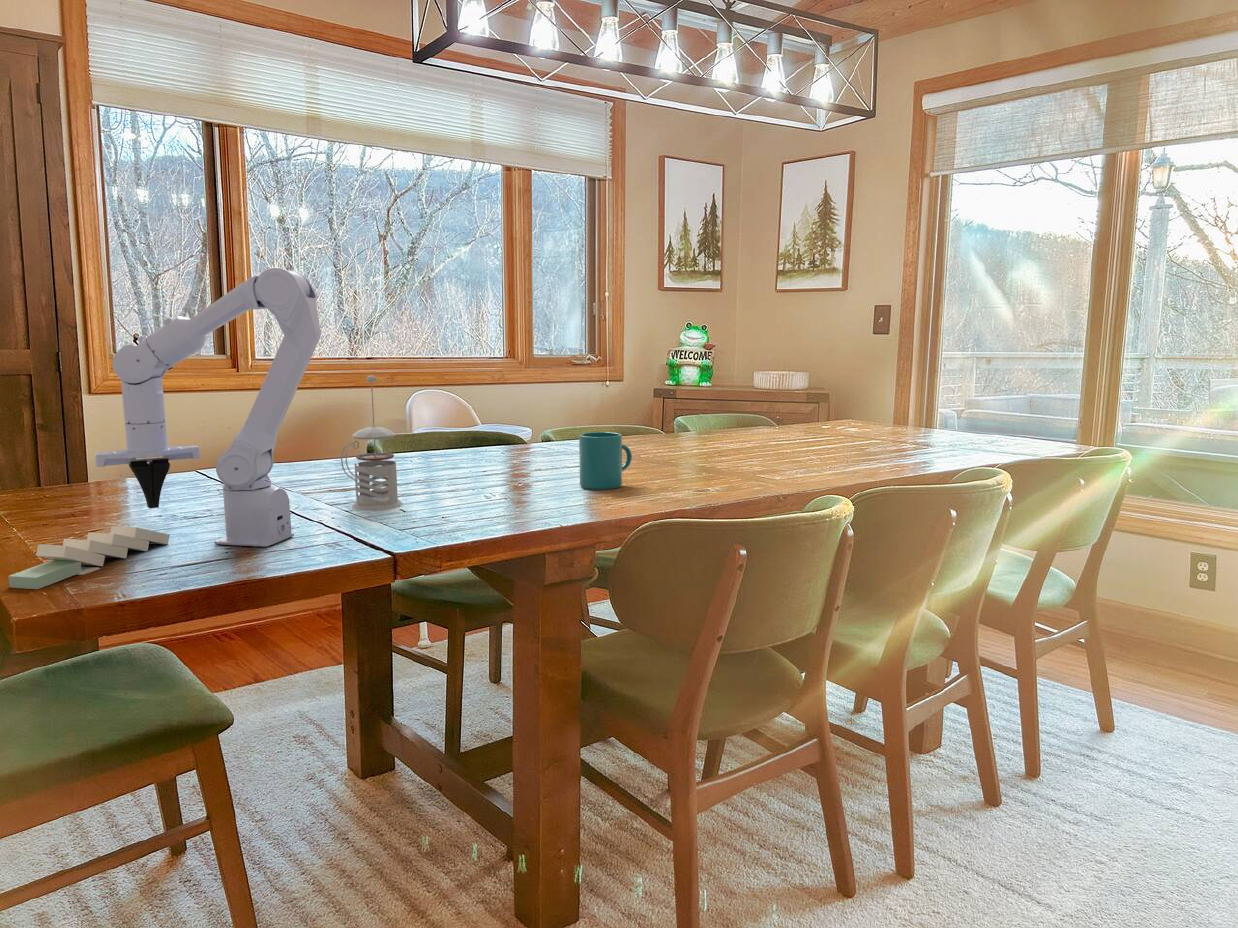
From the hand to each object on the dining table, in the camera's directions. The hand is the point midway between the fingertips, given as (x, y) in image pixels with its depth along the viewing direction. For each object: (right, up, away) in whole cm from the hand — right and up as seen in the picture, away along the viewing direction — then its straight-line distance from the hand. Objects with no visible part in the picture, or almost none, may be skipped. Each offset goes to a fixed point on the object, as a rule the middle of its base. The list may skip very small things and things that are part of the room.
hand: (153, 507), depth 142 cm
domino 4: (-1, -6, -3) cm, 7 cm away
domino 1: (-4, -8, -16) cm, 18 cm away
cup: (+72, +2, +49) cm, 87 cm away
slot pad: (-3, -8, -15) cm, 18 cm away
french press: (+27, -1, +30) cm, 40 cm away
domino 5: (0, -5, +1) cm, 5 cm away
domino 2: (-3, -7, -12) cm, 14 cm away
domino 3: (-2, -7, -8) cm, 10 cm away
